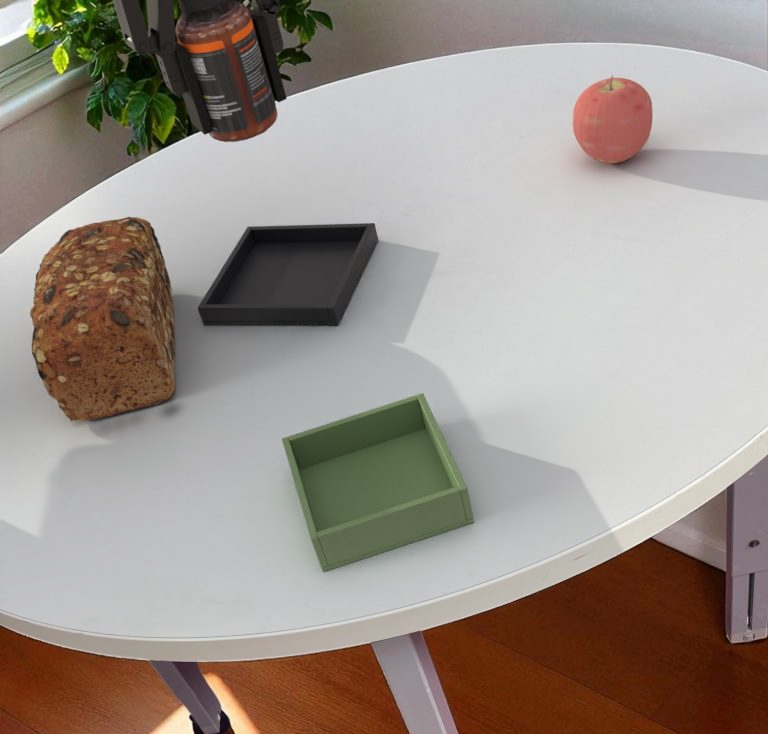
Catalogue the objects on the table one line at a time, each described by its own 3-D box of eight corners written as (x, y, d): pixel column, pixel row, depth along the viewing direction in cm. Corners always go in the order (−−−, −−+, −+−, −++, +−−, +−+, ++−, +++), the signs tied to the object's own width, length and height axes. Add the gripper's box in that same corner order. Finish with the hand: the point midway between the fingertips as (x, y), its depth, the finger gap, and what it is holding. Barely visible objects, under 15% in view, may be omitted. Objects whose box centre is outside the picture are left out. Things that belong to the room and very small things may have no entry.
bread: (183, 402, 90) (141, 305, 83) (62, 433, 90) (9, 339, 83) (180, 283, 103) (143, 191, 96) (74, 311, 104) (30, 221, 97)
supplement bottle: (281, 104, 89) (244, -40, 81) (277, 137, 85) (237, -10, 77) (212, 117, 90) (168, -24, 82) (204, 151, 85) (157, 6, 77)
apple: (581, 140, 107) (576, 61, 101) (657, 136, 105) (655, 55, 99) (570, 179, 102) (563, 99, 97) (649, 176, 100) (647, 93, 94)
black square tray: (203, 325, 98) (197, 308, 96) (252, 243, 106) (247, 226, 105) (338, 325, 93) (333, 308, 92) (378, 240, 102) (374, 222, 100)
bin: (322, 572, 74) (310, 539, 71) (293, 471, 81) (281, 438, 79) (474, 522, 74) (467, 488, 72) (430, 426, 82) (422, 392, 79)
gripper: (19, -171, 65) (149, 174, 81) (290, -265, 69) (362, 80, 86) (-11, -186, 70) (117, 142, 86) (244, -273, 75) (320, 55, 91)
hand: (239, 111), depth 86 cm, fingers closed on supplement bottle, 6 cm apart
